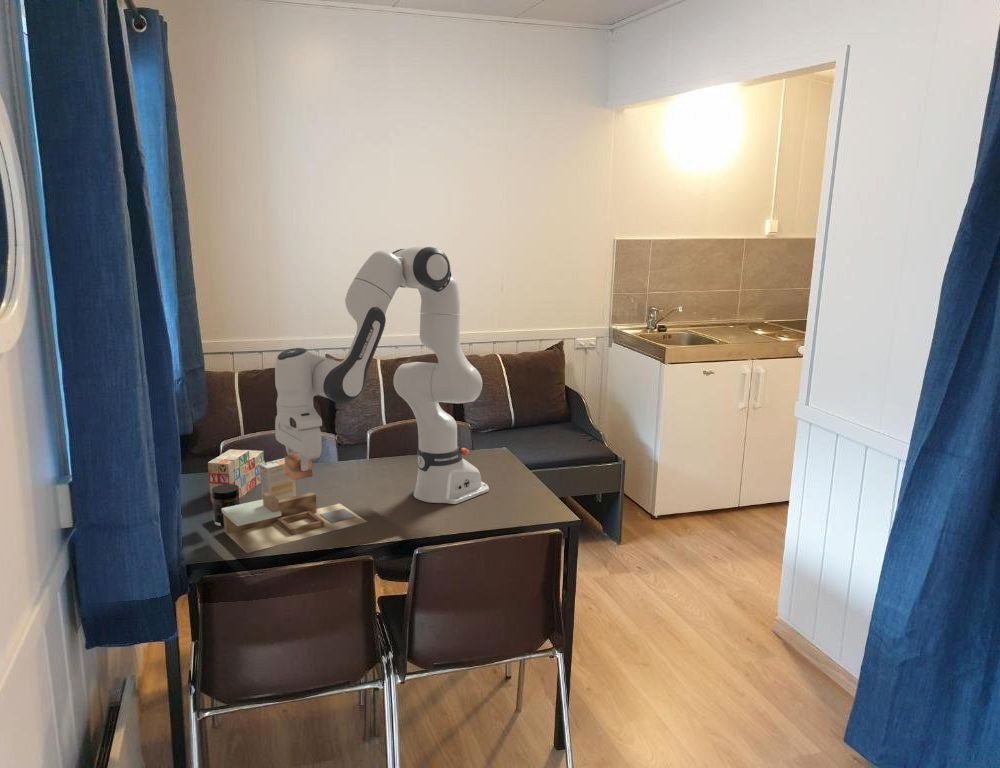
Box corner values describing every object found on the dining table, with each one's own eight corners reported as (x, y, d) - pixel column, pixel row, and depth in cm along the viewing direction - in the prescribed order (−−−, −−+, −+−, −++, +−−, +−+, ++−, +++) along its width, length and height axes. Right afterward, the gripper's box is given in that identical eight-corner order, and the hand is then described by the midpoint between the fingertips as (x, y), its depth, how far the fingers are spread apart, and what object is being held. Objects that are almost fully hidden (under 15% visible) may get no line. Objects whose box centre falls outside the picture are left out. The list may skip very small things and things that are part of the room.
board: (339, 508, 216) (338, 485, 215) (367, 527, 204) (367, 502, 203) (224, 536, 197) (222, 511, 196) (247, 558, 185) (245, 532, 183)
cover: (264, 502, 201) (263, 487, 200) (281, 515, 193) (280, 500, 192) (221, 512, 194) (220, 497, 194) (237, 526, 186) (236, 510, 185)
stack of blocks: (247, 478, 240) (244, 440, 237) (266, 479, 239) (264, 441, 236) (210, 503, 219) (207, 461, 216) (230, 505, 218) (228, 463, 215)
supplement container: (247, 524, 205) (244, 486, 203) (228, 533, 199) (225, 494, 197) (227, 519, 208) (225, 482, 206) (208, 528, 202) (205, 490, 200)
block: (304, 470, 201) (303, 452, 200) (312, 476, 198) (311, 457, 196) (285, 474, 198) (284, 456, 197) (293, 480, 195) (292, 461, 193)
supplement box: (288, 501, 221) (285, 457, 219) (296, 505, 218) (294, 461, 215) (261, 508, 216) (258, 463, 213) (269, 513, 212) (267, 467, 210)
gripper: (267, 407, 200) (270, 458, 204) (300, 425, 185) (303, 480, 188) (290, 403, 204) (293, 453, 207) (325, 420, 188) (327, 474, 192)
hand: (298, 466), depth 197 cm, fingers closed on block, 5 cm apart
